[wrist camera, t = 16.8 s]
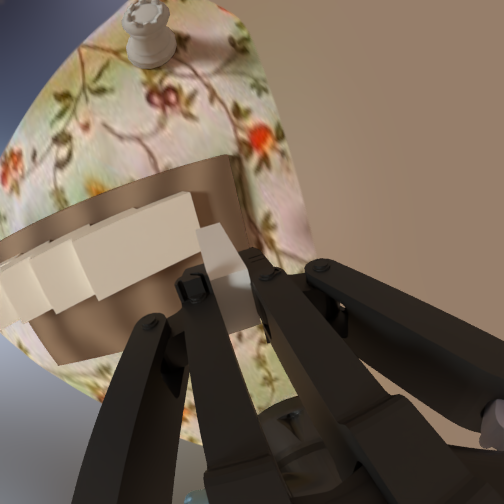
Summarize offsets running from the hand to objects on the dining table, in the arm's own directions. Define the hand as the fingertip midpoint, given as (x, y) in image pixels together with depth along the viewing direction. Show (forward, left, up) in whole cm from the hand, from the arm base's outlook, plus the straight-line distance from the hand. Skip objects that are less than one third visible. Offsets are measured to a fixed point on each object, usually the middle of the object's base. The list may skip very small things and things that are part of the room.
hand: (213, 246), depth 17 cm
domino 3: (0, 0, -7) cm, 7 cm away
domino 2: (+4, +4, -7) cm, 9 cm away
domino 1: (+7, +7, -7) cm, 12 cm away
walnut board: (+4, +9, -9) cm, 14 cm away
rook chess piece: (+12, -11, -10) cm, 19 cm away
